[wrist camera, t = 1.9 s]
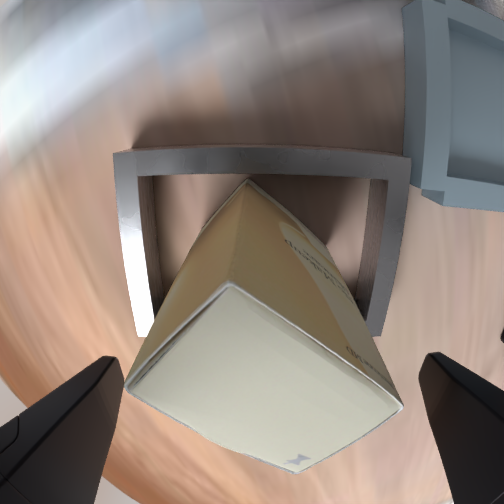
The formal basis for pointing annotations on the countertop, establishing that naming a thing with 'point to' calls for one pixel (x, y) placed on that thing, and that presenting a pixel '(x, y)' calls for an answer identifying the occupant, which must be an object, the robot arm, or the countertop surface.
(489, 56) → the slate tray
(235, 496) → the countertop surface
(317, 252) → the skincare box
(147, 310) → the metal collar
